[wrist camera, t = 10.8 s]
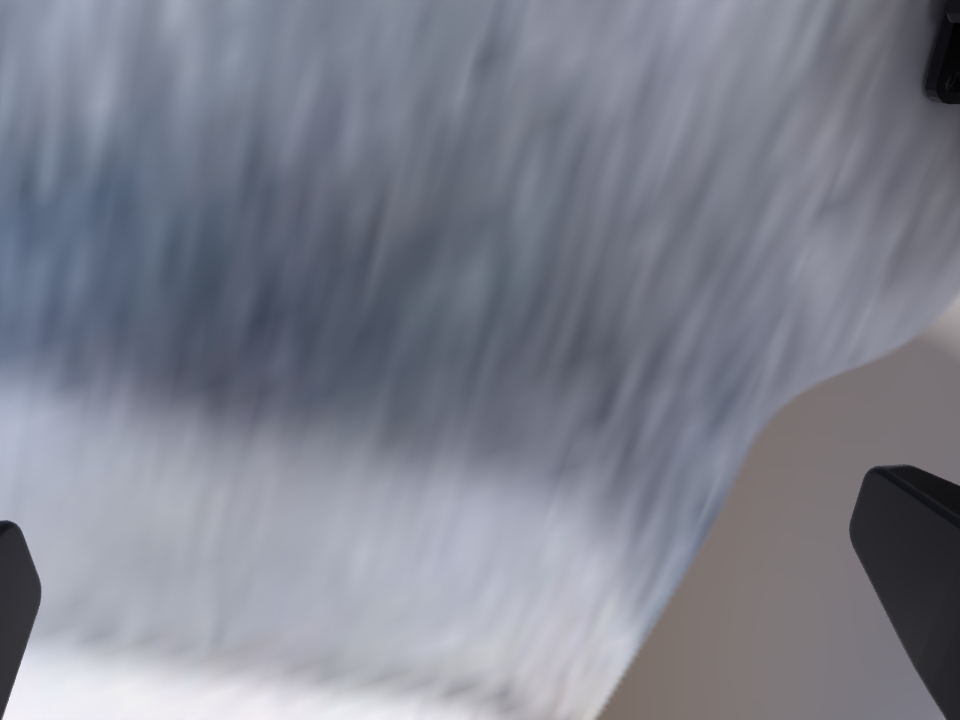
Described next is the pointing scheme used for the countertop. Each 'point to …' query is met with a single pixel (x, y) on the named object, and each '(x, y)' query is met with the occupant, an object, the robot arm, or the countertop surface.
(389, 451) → the countertop surface
